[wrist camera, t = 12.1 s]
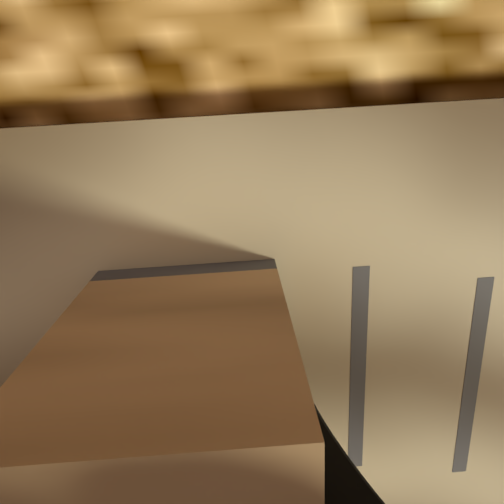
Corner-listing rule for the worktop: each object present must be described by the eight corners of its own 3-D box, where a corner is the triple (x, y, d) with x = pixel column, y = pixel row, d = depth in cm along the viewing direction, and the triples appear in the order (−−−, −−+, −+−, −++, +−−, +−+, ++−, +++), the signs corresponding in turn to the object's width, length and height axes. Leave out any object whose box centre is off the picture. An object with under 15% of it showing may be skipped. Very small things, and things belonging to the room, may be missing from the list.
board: (599, 517, 14) (630, 553, 13) (77, 561, 14) (63, 601, 13) (728, 83, 10) (793, 80, 9) (-43, 130, 9) (-82, 133, 8)
